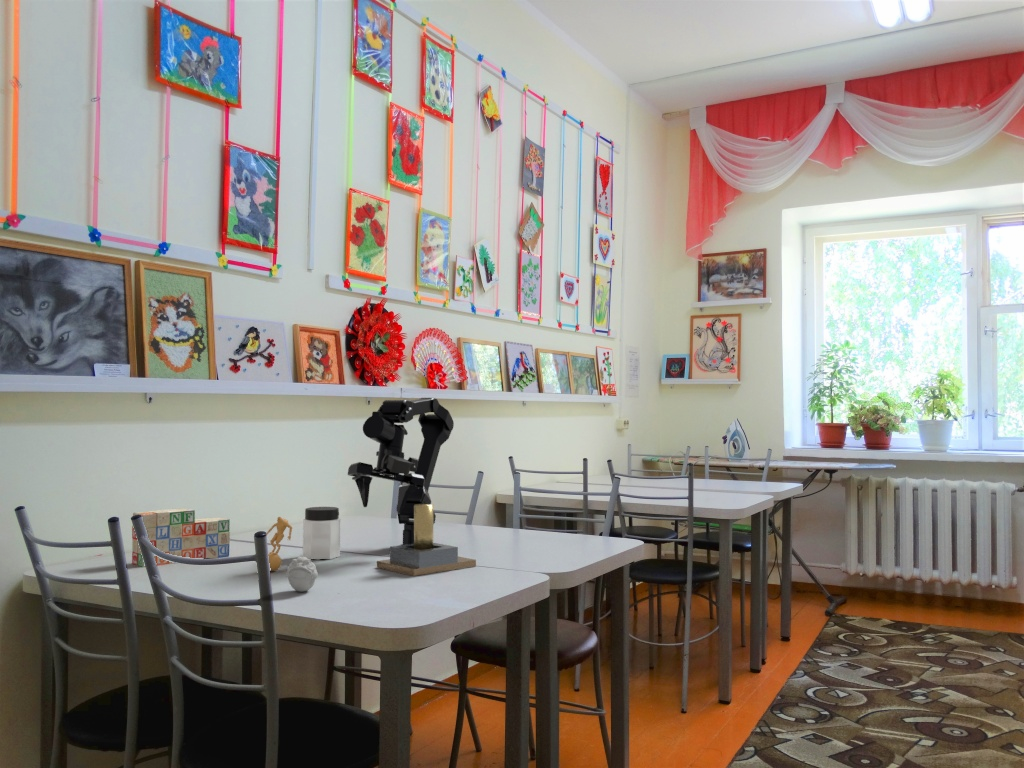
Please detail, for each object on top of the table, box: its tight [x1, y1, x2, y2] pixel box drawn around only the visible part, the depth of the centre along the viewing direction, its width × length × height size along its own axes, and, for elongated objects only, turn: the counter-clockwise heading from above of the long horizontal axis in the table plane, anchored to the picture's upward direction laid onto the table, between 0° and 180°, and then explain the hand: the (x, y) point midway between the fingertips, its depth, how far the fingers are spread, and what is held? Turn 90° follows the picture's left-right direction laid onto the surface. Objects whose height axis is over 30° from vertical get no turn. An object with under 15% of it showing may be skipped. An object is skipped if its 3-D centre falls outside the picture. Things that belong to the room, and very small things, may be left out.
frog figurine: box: [285, 556, 319, 593], centre depth 166 cm, size 6×7×7 cm
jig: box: [376, 542, 477, 577], centre depth 194 cm, size 18×14×5 cm
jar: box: [302, 506, 341, 560], centre depth 207 cm, size 9×8×12 cm
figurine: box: [265, 516, 293, 572], centre depth 189 cm, size 8×6×12 cm
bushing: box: [413, 503, 434, 550], centre depth 192 cm, size 4×4×13 cm
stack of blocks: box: [131, 507, 231, 568], centre depth 202 cm, size 21×6×12 cm, turn 136°
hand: (382, 510), depth 205 cm, fingers open, 9 cm apart
